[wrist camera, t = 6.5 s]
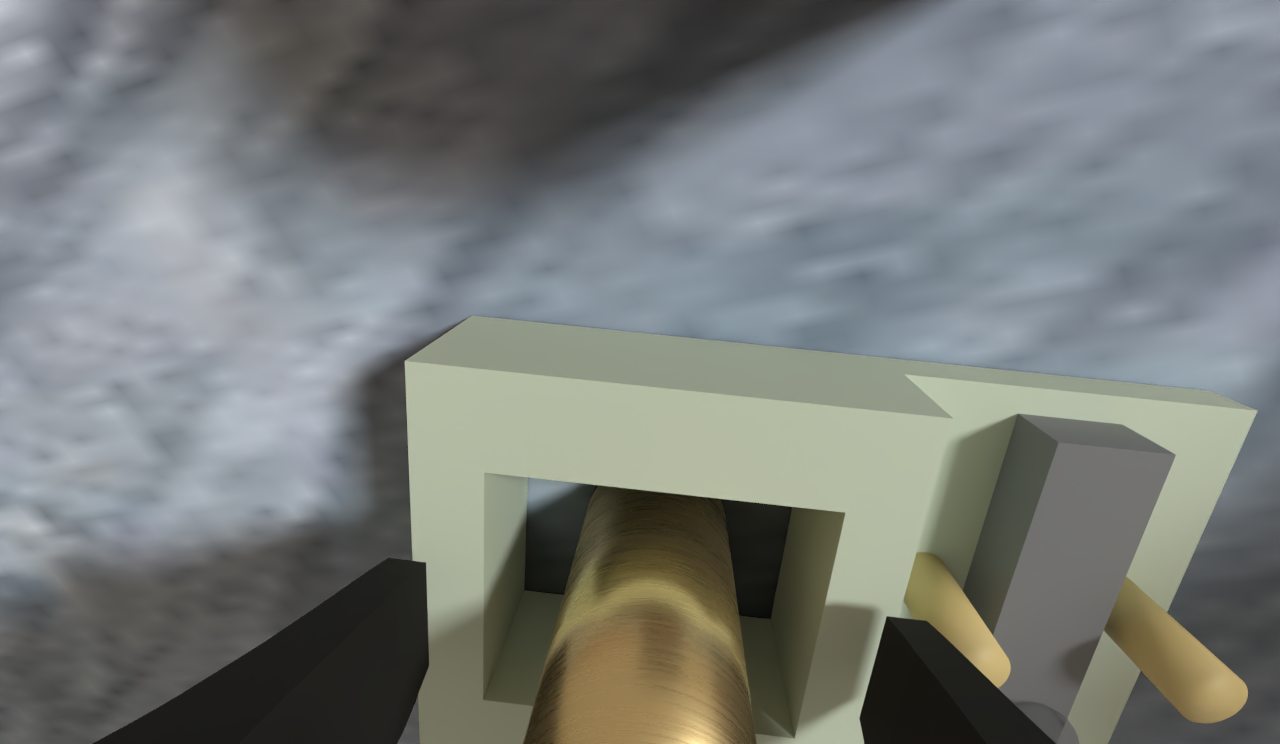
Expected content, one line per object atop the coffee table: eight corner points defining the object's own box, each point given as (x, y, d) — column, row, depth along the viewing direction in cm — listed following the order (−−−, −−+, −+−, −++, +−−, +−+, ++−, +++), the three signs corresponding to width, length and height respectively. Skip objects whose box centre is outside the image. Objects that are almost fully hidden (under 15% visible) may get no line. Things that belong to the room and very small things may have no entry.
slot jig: (1208, 390, 11) (1423, 477, 8) (1067, 729, 14) (1184, 897, 11) (472, 315, 12) (391, 369, 8) (472, 656, 14) (412, 796, 11)
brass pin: (731, 464, 12) (793, 800, 6) (720, 586, 13) (760, 997, 7) (587, 455, 12) (481, 774, 6) (585, 577, 13) (494, 970, 7)
